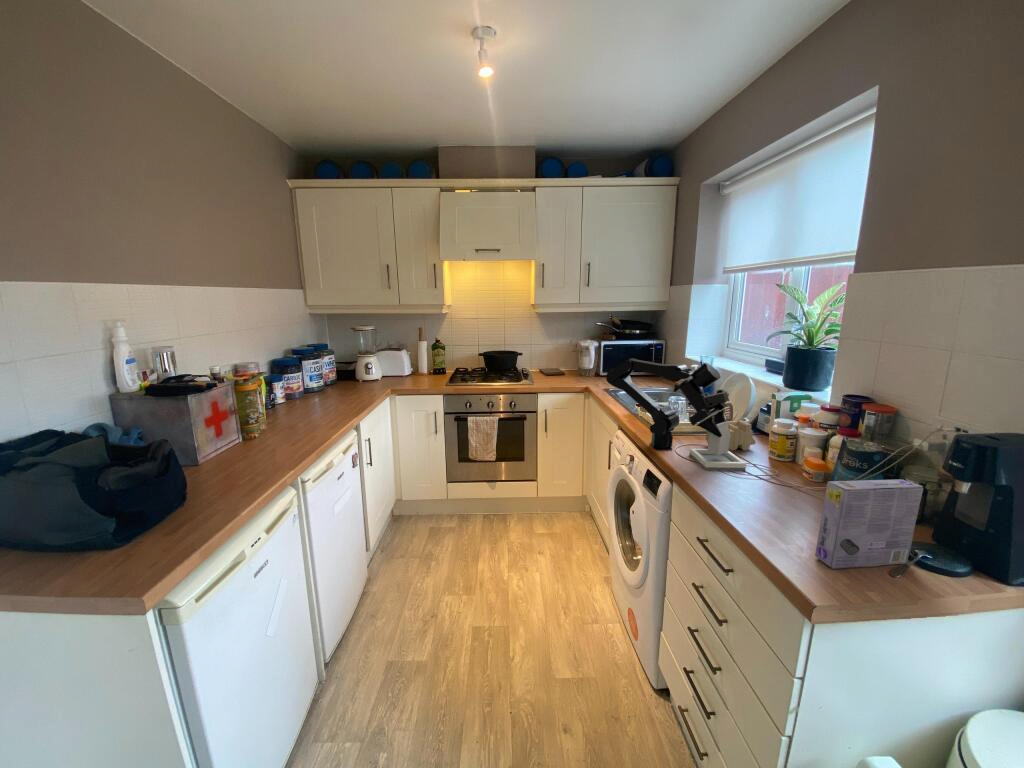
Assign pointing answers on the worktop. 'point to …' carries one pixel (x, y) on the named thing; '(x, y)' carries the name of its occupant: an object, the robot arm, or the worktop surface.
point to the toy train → (739, 436)
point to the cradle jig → (717, 460)
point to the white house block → (719, 440)
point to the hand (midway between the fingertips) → (724, 434)
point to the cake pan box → (868, 522)
